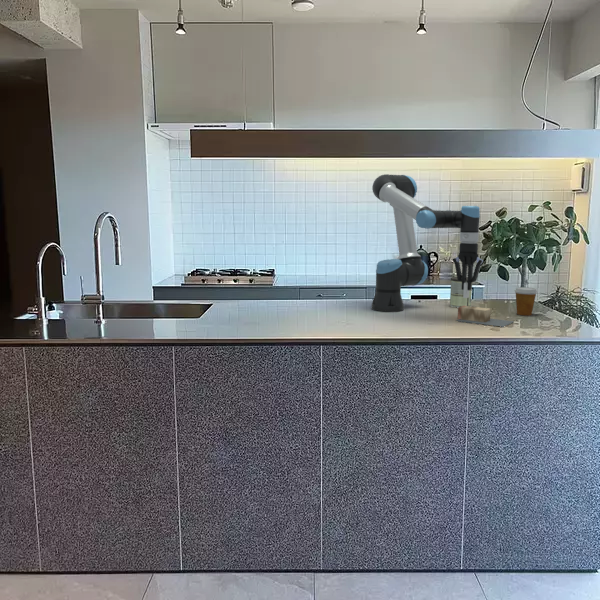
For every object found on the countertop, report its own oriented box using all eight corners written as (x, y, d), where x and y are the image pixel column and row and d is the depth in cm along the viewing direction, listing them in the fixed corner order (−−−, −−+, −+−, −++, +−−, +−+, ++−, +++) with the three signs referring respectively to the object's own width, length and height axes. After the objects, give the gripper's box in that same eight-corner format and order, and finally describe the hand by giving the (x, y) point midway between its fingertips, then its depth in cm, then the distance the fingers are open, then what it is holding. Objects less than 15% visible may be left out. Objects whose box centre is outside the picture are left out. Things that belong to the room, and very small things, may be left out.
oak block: (458, 307, 242) (485, 310, 234) (463, 305, 246) (490, 308, 239) (457, 318, 242) (485, 322, 235) (462, 316, 247) (490, 320, 240)
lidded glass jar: (447, 304, 282) (449, 276, 280) (468, 305, 281) (470, 277, 279) (451, 308, 272) (452, 279, 270) (473, 308, 271) (474, 279, 269)
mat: (455, 321, 239) (455, 320, 239) (467, 316, 250) (467, 315, 250) (503, 327, 227) (503, 326, 227) (513, 322, 238) (514, 321, 238)
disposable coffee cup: (535, 313, 259) (537, 287, 257) (534, 317, 250) (536, 290, 248) (513, 311, 263) (515, 286, 261) (512, 315, 254) (514, 289, 252)
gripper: (450, 242, 239) (448, 297, 243) (480, 243, 231) (477, 300, 235) (457, 241, 245) (454, 295, 249) (487, 242, 237) (484, 298, 241)
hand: (466, 297), depth 242 cm, fingers closed
